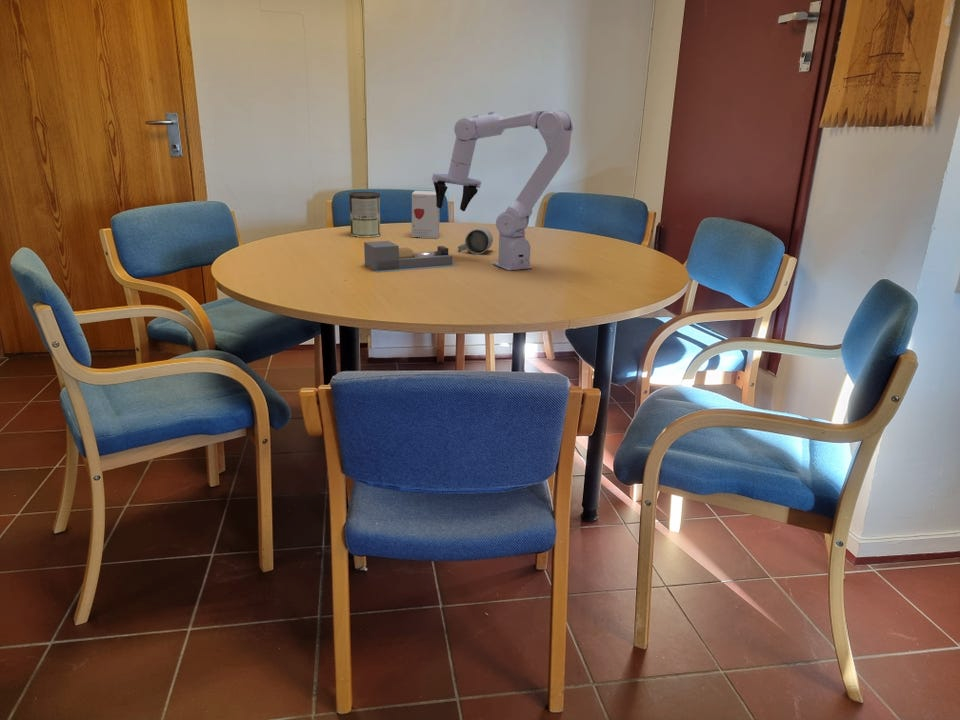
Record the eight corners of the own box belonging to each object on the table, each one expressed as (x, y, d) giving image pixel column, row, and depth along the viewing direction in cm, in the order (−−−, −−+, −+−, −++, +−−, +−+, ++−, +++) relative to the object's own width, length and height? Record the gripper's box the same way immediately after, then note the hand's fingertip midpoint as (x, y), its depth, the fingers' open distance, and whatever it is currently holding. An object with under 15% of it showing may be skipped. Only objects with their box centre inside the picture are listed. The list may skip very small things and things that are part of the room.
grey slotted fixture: (458, 267, 195) (459, 243, 192) (376, 274, 184) (376, 248, 182) (441, 259, 205) (441, 236, 202) (362, 265, 194) (361, 240, 192)
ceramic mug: (493, 250, 220) (494, 226, 218) (489, 255, 213) (489, 230, 210) (461, 248, 222) (461, 224, 220) (455, 253, 215) (455, 228, 212)
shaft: (448, 262, 197) (448, 248, 196) (416, 264, 193) (416, 250, 192) (442, 259, 201) (442, 245, 199) (411, 262, 196) (411, 247, 195)
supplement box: (410, 238, 237) (410, 193, 232) (414, 233, 246) (414, 190, 241) (437, 238, 237) (437, 194, 232) (439, 234, 245) (440, 191, 240)
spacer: (412, 266, 193) (412, 250, 191) (399, 267, 191) (398, 251, 189) (407, 263, 196) (407, 247, 194) (394, 264, 194) (393, 248, 193)
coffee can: (344, 234, 240) (343, 192, 235) (370, 231, 247) (369, 191, 242) (360, 238, 233) (358, 195, 228) (386, 236, 239) (385, 194, 234)
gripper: (477, 161, 203) (467, 207, 208) (432, 154, 196) (422, 201, 201) (488, 168, 197) (477, 214, 203) (441, 161, 190) (431, 209, 196)
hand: (450, 208), depth 202 cm, fingers open, 7 cm apart
